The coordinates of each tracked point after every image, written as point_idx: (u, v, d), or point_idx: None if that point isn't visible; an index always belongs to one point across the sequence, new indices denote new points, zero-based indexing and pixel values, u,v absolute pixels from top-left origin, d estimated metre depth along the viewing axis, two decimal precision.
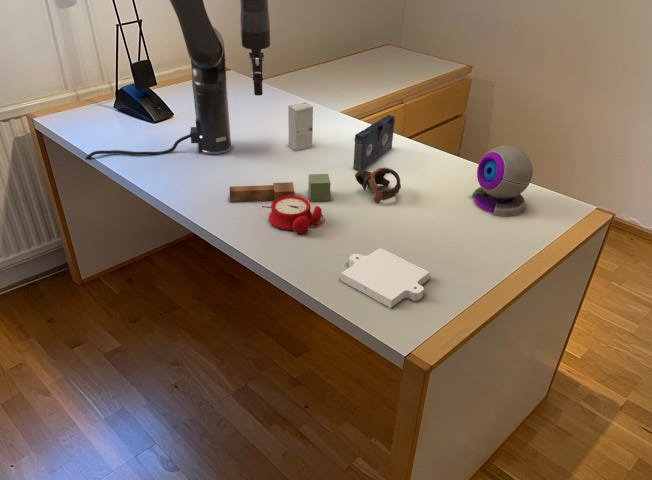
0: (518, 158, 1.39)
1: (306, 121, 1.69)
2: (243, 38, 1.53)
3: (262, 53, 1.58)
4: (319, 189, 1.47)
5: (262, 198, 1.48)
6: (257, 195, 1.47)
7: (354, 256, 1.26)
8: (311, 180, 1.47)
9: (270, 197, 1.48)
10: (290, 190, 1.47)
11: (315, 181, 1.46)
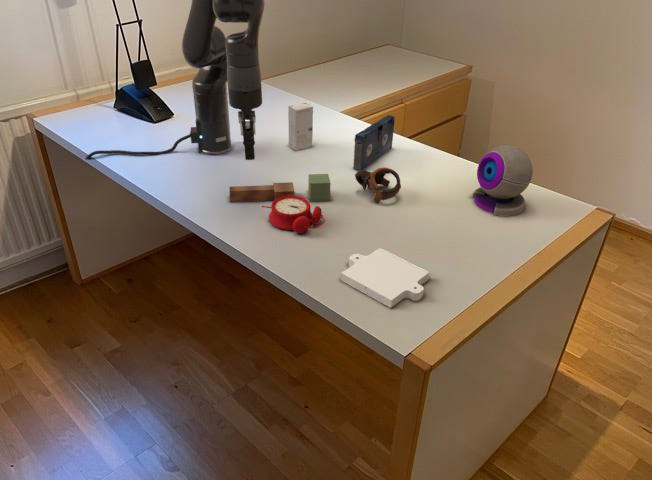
0: (518, 158, 1.39)
1: (306, 121, 1.69)
2: (231, 97, 1.32)
3: (253, 112, 1.37)
4: (319, 189, 1.47)
5: (262, 198, 1.48)
6: (257, 195, 1.47)
7: (354, 256, 1.26)
8: (311, 180, 1.47)
9: (270, 197, 1.48)
10: (290, 190, 1.47)
11: (315, 181, 1.46)
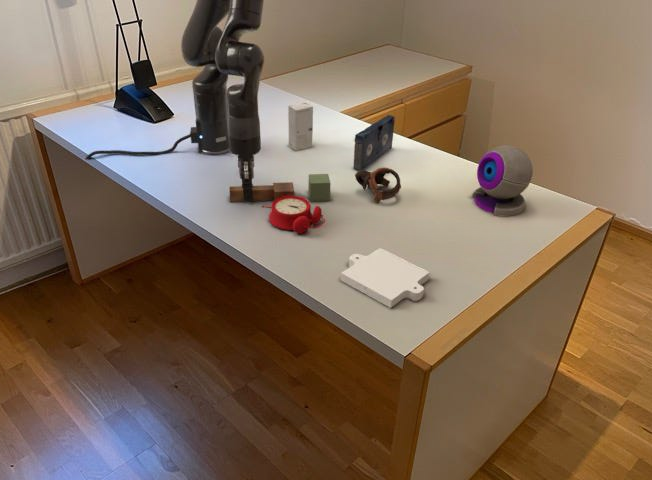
0: (518, 158, 1.39)
1: (306, 121, 1.69)
2: (231, 144, 1.38)
3: (252, 156, 1.43)
4: (319, 189, 1.47)
5: (262, 198, 1.48)
6: (257, 195, 1.47)
7: (354, 256, 1.26)
8: (311, 180, 1.47)
9: (270, 197, 1.48)
10: (290, 190, 1.47)
11: (315, 181, 1.46)
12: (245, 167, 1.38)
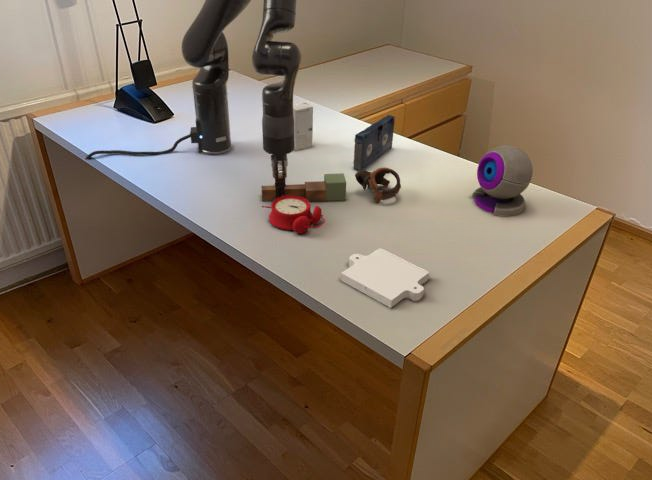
0: (518, 158, 1.39)
1: (306, 121, 1.69)
2: (265, 143, 1.38)
3: (285, 155, 1.44)
4: (335, 189, 1.47)
5: None
6: (289, 194, 1.48)
7: (354, 256, 1.26)
8: (327, 180, 1.47)
9: (302, 196, 1.48)
10: (322, 189, 1.47)
11: (331, 181, 1.46)
12: (279, 166, 1.39)
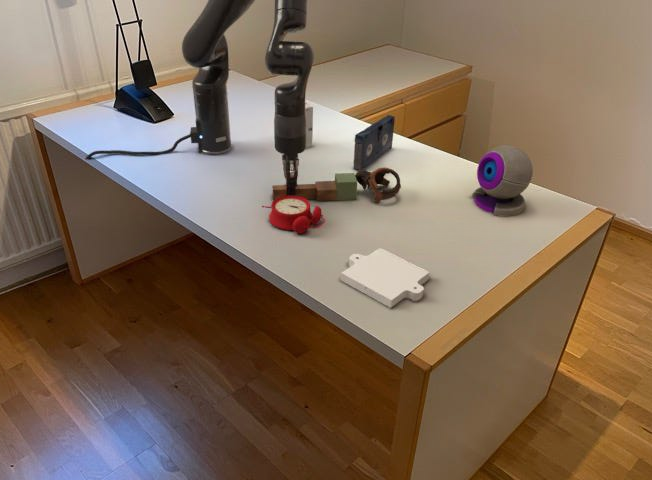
0: (518, 158, 1.39)
1: (306, 121, 1.69)
2: (277, 142, 1.38)
3: (296, 155, 1.44)
4: (346, 188, 1.47)
5: (305, 197, 1.49)
6: (300, 194, 1.48)
7: (354, 256, 1.26)
8: (338, 179, 1.47)
9: (313, 195, 1.49)
10: (333, 188, 1.47)
11: (342, 181, 1.47)
12: (291, 166, 1.39)
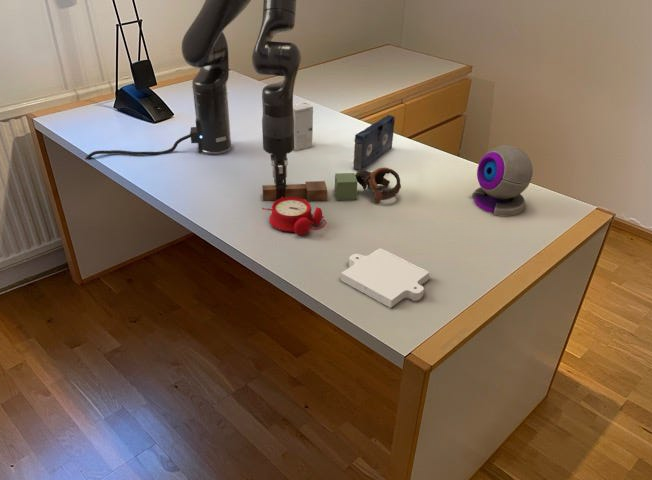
0: (518, 158, 1.39)
1: (306, 121, 1.69)
2: (265, 143, 1.39)
3: (285, 155, 1.44)
4: (346, 188, 1.47)
5: None
6: (290, 194, 1.48)
7: (354, 256, 1.26)
8: (338, 179, 1.47)
9: (303, 195, 1.49)
10: (323, 189, 1.47)
11: (342, 180, 1.47)
12: (279, 162, 1.39)
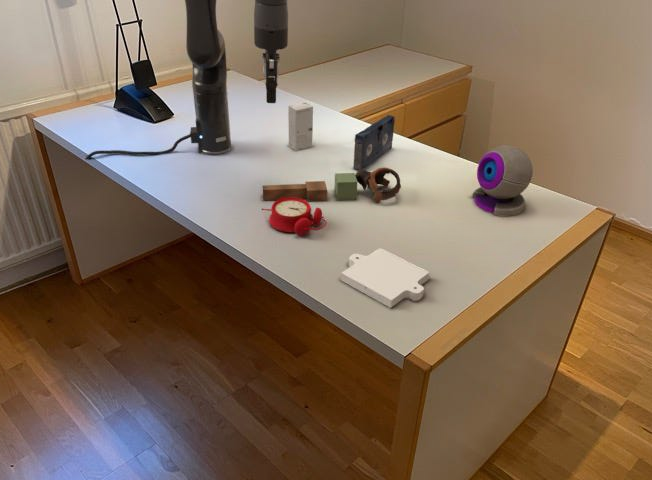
0: (518, 158, 1.39)
1: (306, 121, 1.69)
2: (256, 36, 1.30)
3: (278, 54, 1.36)
4: (346, 188, 1.47)
5: (295, 197, 1.49)
6: (290, 194, 1.48)
7: (354, 256, 1.26)
8: (338, 179, 1.47)
9: (303, 195, 1.49)
10: (323, 189, 1.47)
11: (342, 180, 1.47)
12: (270, 58, 1.31)
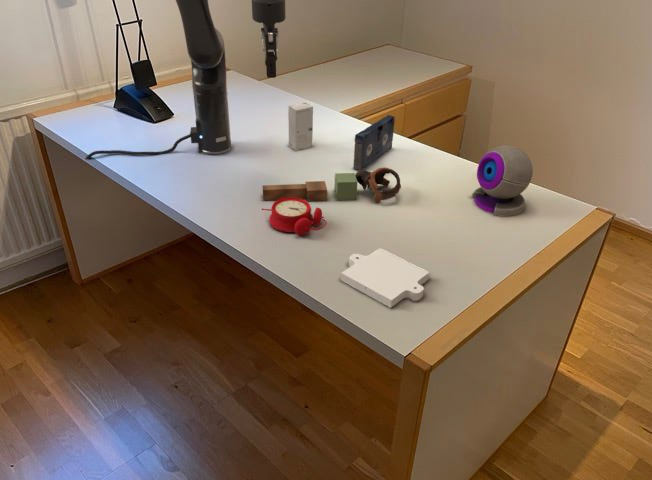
0: (518, 158, 1.39)
1: (306, 121, 1.69)
2: (254, 10, 1.31)
3: (276, 28, 1.36)
4: (346, 188, 1.47)
5: (295, 197, 1.49)
6: (290, 194, 1.48)
7: (354, 256, 1.26)
8: (338, 179, 1.47)
9: (303, 195, 1.49)
10: (323, 189, 1.47)
11: (342, 180, 1.47)
12: (269, 31, 1.31)
